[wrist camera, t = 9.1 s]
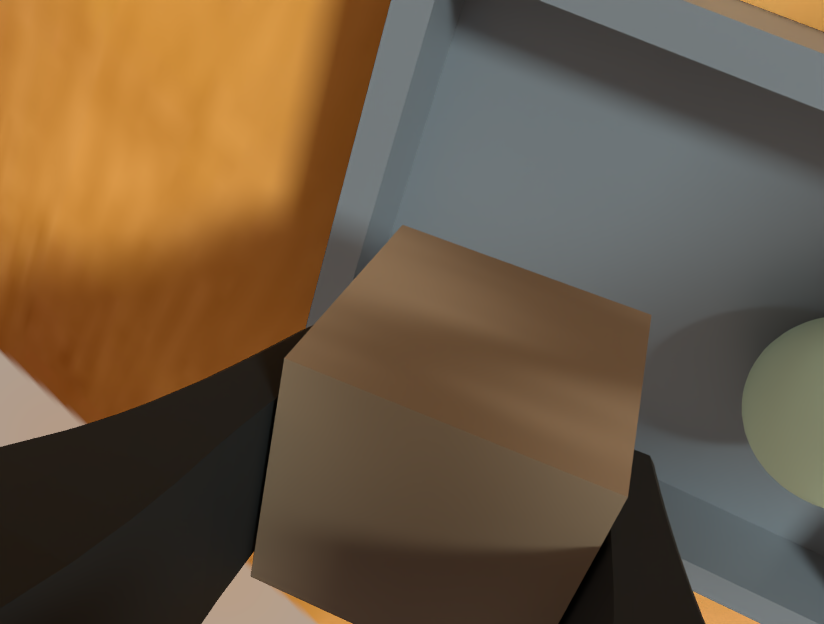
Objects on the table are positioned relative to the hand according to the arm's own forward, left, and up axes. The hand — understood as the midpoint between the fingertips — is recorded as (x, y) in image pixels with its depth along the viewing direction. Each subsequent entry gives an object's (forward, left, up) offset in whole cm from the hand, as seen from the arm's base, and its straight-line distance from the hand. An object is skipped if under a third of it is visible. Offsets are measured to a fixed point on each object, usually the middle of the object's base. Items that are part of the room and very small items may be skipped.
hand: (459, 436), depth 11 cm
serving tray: (-4, 0, -8) cm, 9 cm away
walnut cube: (0, 0, -2) cm, 2 cm away
